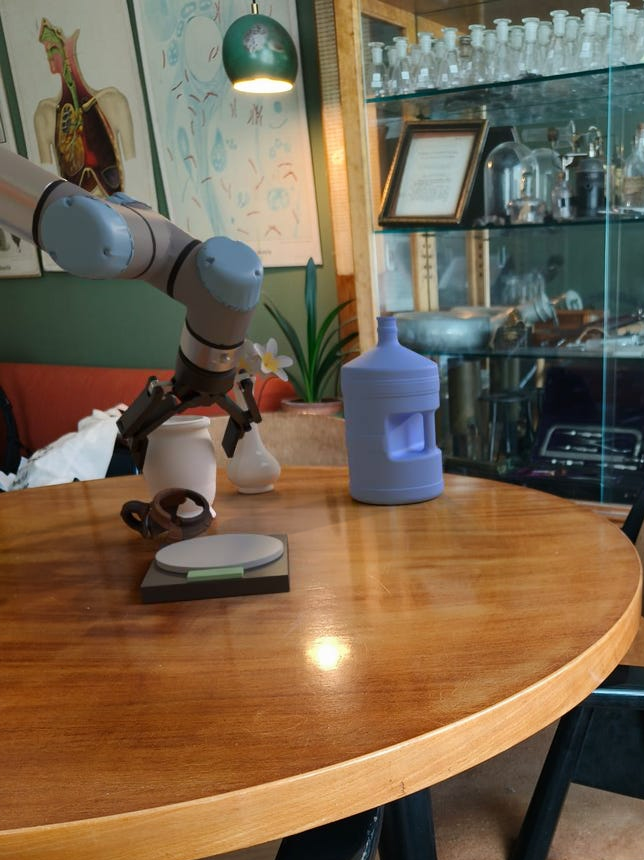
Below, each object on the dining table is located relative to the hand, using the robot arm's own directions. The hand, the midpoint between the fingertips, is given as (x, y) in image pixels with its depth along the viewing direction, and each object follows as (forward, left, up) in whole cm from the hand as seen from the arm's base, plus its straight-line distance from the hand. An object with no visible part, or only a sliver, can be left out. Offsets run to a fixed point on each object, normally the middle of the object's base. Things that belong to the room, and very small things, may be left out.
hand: (183, 456), depth 130 cm
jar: (-1, +2, -10) cm, 10 cm away
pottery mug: (-2, -11, -10) cm, 15 cm away
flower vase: (+8, +21, -10) cm, 24 cm away
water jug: (+32, +9, -10) cm, 35 cm away
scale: (+6, -29, -10) cm, 32 cm away
